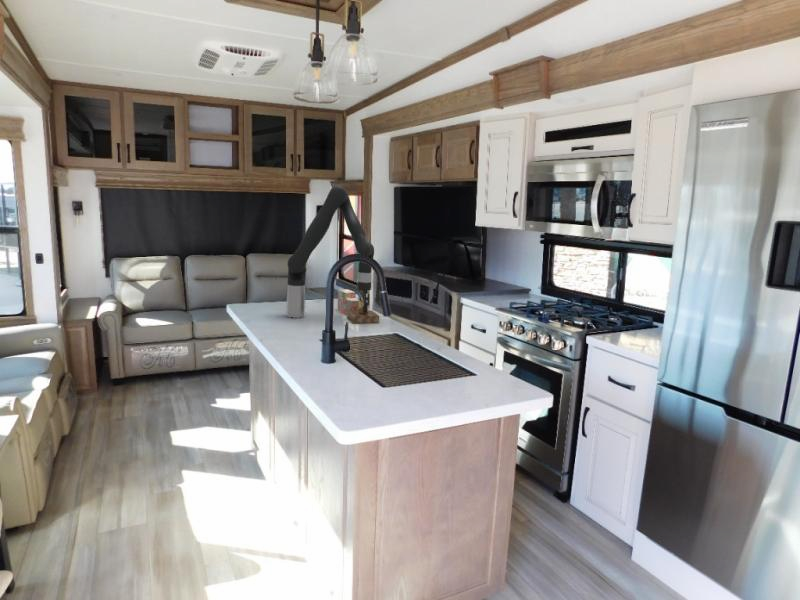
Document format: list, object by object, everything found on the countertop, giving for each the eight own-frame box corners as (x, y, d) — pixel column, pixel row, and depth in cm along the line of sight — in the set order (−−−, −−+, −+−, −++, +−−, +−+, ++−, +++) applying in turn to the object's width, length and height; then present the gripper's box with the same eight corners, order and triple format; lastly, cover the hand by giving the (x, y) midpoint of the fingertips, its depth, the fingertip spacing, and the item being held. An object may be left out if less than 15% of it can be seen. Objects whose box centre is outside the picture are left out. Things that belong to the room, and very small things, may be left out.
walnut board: (352, 323, 284) (353, 316, 283) (347, 318, 297) (347, 310, 296) (378, 323, 288) (379, 315, 287) (372, 317, 301) (372, 310, 300)
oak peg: (359, 320, 289) (360, 302, 287) (357, 318, 294) (357, 300, 292) (369, 320, 291) (370, 302, 289) (366, 318, 296) (367, 300, 294)
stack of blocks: (360, 317, 302) (361, 295, 300) (350, 317, 299) (350, 295, 297) (347, 309, 321) (348, 288, 318) (337, 310, 318) (338, 289, 316)
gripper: (354, 278, 294) (353, 308, 297) (360, 282, 281) (359, 313, 283) (368, 278, 296) (366, 308, 299) (374, 282, 283) (373, 313, 286)
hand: (363, 310), depth 291 cm, fingers open, 8 cm apart
